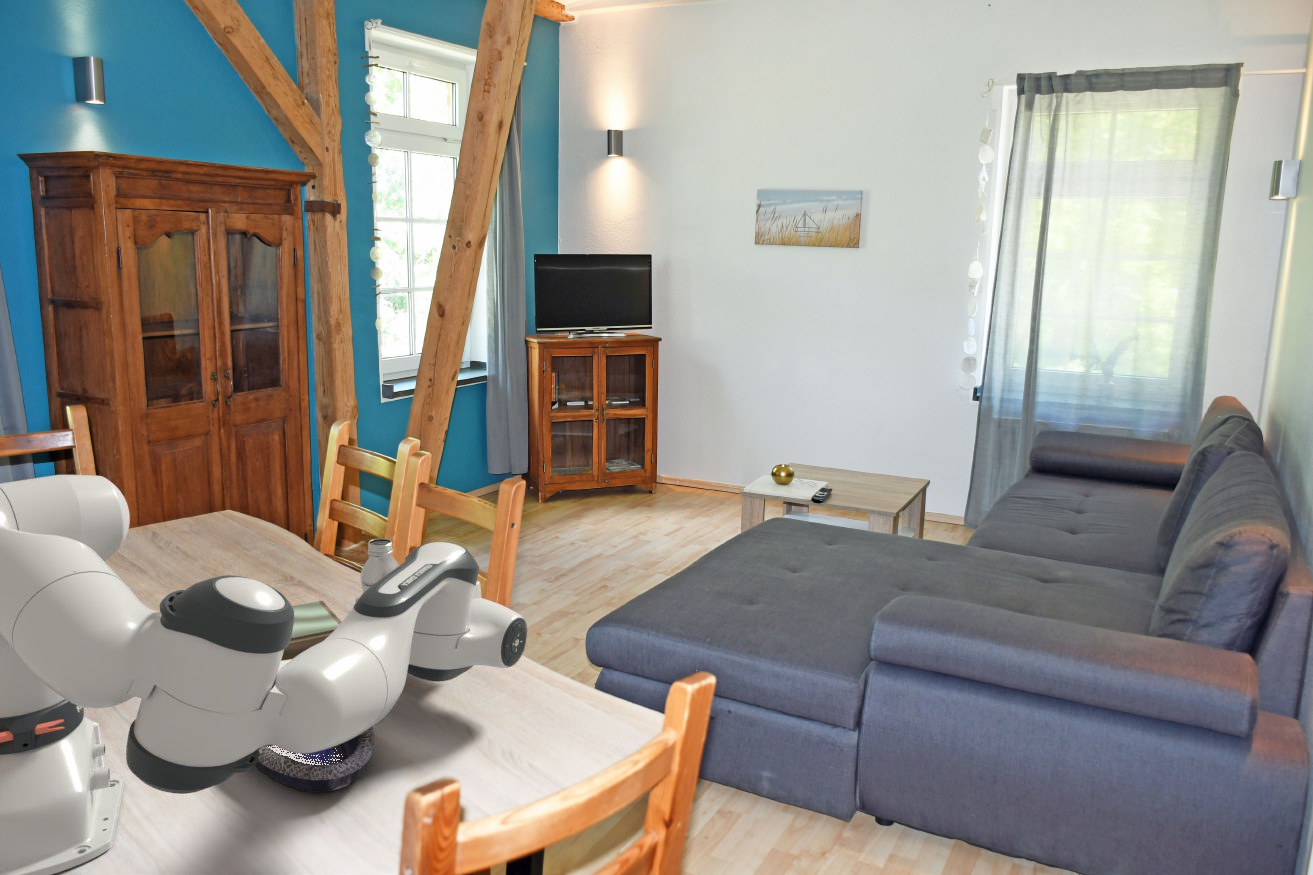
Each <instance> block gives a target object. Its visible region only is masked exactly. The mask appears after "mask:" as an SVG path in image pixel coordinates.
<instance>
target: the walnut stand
mask: <svg viewBox="0 0 1313 875" xmlns="http://www.w3.org/2000/svg"><path fill="white" fill-rule="evenodd" d="M291 606H292V607H293V609H294V624H293V630H292V635H291V639H290V643H289V645H288V646H287V647H286V648H285V649H284V652H283V656H282V659H281V661H284V660H289V659H293V658H295V657H296V656H297V655H299V654H300V653H302V652H304V651H305V650H307V649H309V648H310V647H312V646H314V645H316V644H318V643H321V642H322V641H324V640H325V639H326V638H327V637H328V636H329V635H330V634H331V633H332V632H333V631H334V630H335V629H336V628H337V627H338V626H339V625H340V624H341V622H342V621H341V620H340V618H338V616H337V615H336V613H334V611H333V610H331V608H330V607H329V606H328V605H327V604H326V603H325V602H324V601H323V600H317V601H313V602H307V603H302V604H296V605H291Z"/></svg>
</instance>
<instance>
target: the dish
mask: <svg viewBox="0 0 1313 875" xmlns="http://www.w3.org/2000/svg"><path fill="white" fill-rule="evenodd" d="M267 746H268V747H269V746H270V747H271V746H273V745H265V746H262V747H260V748H259V759H258V761H257V763H256V764H255V765H254V766H255V767H256V768H257V769H259V770H260V771H261V772H262V773H264V774H265V775H266V776H268V777H269V778H271V779H273V780H274V781H277V782H278V783H281V784H283V785H285V786H288V787H290V788H294V789H295V790H296V789H297V790H301V791H306V792H313V793H314V792H315V793H316V792H319V793H321V792H331V791H332V792H333V791H337V790H340V789H342V788H346V787H347V786H349V785H351V784H353V782H355V781H356V780H357V779H358V778H359V777H360V776H361V775H362V774H363V772H365V769H366V768H367V766H368V763H369V761H370V759H371V756H372V754H373V752H374V748H375V733H374V729H373V726H372V727H370V728H369V729H367V730H366V731H364V732H363V733H361V734H359V735H358V736H356V737H354V738H352V739H350V740H348V741H346V742H344V743H342V744H339V745H337V746H334V747H331V748H328V749H325V750H321V751H317V752H313V753H306V754H307V755H306V754H302V755H304V756H306V757H304V756H303V757H302V756H299V755H298V757H299V758H297V757H296V759H300V757H302V758H304V759H306V760H308V759H309V760H310V759H312V760H311V761H313V759H314V761H315V764H317V763H316V762H318V764H319V762H321V760H322V762H321V763H320V764H321V765H315V764H314V765H312V764H311V765H310V764H307V763H306V764H304V763H302V762H298V761H295V760H293V759H291V758H289V757H290V756H289V757H288V756H283V755H280V753H279V754H278V753H276V752H274V751H273V750H271V749H270V748H268V747H267ZM274 746H275V745H274ZM272 748H276V747H272ZM277 748H278V747H277ZM279 748H280V747H279ZM335 748H336V749H335ZM280 750H281V749H280ZM282 750H283V749H282ZM336 750H337V751H336ZM276 751H277V750H276ZM281 752H282V751H281ZM283 752H284V751H283ZM334 752H335V753H334ZM287 753H289V752H287ZM287 753H286V754H287ZM290 753H291V752H290ZM281 754H282V753H281ZM292 754H296V753H292ZM297 754H298V753H297ZM308 754H309V755H308ZM318 754H319V755H318ZM323 754H324V755H323ZM338 754H339V756H340V757H339V756H338V757H337V756H336V755H338ZM341 754H342V755H341ZM311 755H312V756H311ZM313 755H315V756H313ZM316 755H318V756H317V757H316ZM328 755H329V756H328ZM331 755H332V756H331ZM333 755H335V757H334V756H333ZM295 756H297V755H295ZM319 756H320V757H319ZM342 756H343V757H342ZM307 757H308V758H307ZM309 757H310V758H309ZM324 757H325V758H324ZM294 758H295V757H294ZM302 758H301V759H302ZM317 758H318V759H319V760H320V761H318V759H317ZM332 758H333V759H335V758H336V759H340V760H337V761H336V759H335V761H333V759H332ZM315 759H317V761H316V760H315ZM325 759H326V760H325ZM328 759H329V760H328ZM330 759H332V760H330ZM306 760H305V762H306ZM341 760H342V761H341ZM302 761H303V760H302ZM311 761H310V763H311ZM324 761H325V762H324ZM326 761H328V762H326ZM307 762H309V761H307ZM329 762H330V763H329ZM332 762H333V763H332ZM334 762H335V763H334ZM337 762H338V763H337ZM312 763H314V762H312ZM322 763H323V765H322ZM324 763H326V765H325V764H324ZM327 764H329V765H327Z"/></svg>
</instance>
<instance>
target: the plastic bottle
mask: <svg viewBox="0 0 1313 875" xmlns="http://www.w3.org/2000/svg"><path fill="white" fill-rule="evenodd" d="M367 548H368V550H367V555H368V556H369V557H368V559H367V560H366V562H365V563H364V564H363V566H362V568H361V572H360V574H359V575H360V576H359V577H360V582H361V588H362V594H363V593H364V592H365V591H366V590H367V589H368V588H370V587H371V586H372V585H374V584H375V583H376V582H378V581H379V580H380V579H382V578H383V577H385V576H386V575H387V574H389V573H390V572H391V571H393V570H394V569H396V568H397V567H398V566H400V564H399V563H398V562H397V560H396V559H395V558H394V556H392V554H393V553H394V549H393V542H392V540H391V539H390V538H389V539H388V538H374V539H371V540H369V541H368V542H367Z"/></svg>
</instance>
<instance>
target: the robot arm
mask: <svg viewBox="0 0 1313 875" xmlns="http://www.w3.org/2000/svg"><path fill="white" fill-rule="evenodd" d="M130 515H131V514H130V510H129V506H128V502H127V500H126V498H125V496H124V495H123V493H122V491H121V490H120V489H119V488H118V487H117V485H115V483H113V482H111V481H110V479H108V478H106V477H104V476H101V475H93V474H90V475H88V474H55V475H49V476H48V475H47V476H41V477H34V478H28V479H20V480H16V481H8V482H2V483H0V875H54V874H57V873H60V872H63V871H65V870H69V869H72V868H74V867H77V866H81V865H83V864H84V863H86V862H88V861H90V860H93V859H95V858H96V857H99V856H101V855H102V854H103V853H106V852H107V851H109V850H110V849H111V848H112V846H113V845H114V841H115V840H114V839H115V834H116V830H117V826H118V825H117V824H118V821H119V815H120V810H121V805H122V800H123V797H124V796H123V795H124V790H125V786H126V783H125V778H124V775H122V774H121V773H120V774H119V773H112V772H111V770H110V767H109V766H105V765H104V758H103V757H104V756H105V755H106V745H105V743H102V742H101V741H102V740H101V732H100V725H99V723H98V722H95V721H93V720H91V719H89V718H87V717H86V716H85V709H90V710H91V709H92V710H94V709H95V710H97V709H107V708H111V707H116V706H119V705H121V704H123V703H126V702H128V701H129V700H131V699H133V698H139V699H141V700H140V702H139V707H138V709H137V714H136V718H135V719H134V720H133V721H132V722H131V724H130V726H129V728H128V729H129V730H128V733H127V734H128V735H127V741H126V748H125V757H126V758H125V759H126V764H127V767H128V769H129V770H130V772H131V773H132V774H133V775H134V776H136V777H137V778H138V780H140V781H141V782H142V783H144V784H145V785H147V786H148V787H151V788H153V789H154V790H158V791H161V792H165V793H169V794H178V795H179V794H180V795H183V794H192V793H197V792H200V791H203V790H206V789H209V788H212V787H214V786H217V785H219V784H222V783H223V782H226V780H229V778H231V777H232V776H234V775H235V774H236V773H245V772H248V771H250V770H251V769H252V768H253V767H254V766H255V764H256V763H257V761H258V759H259V748H260V747H262V746H265V745H276V746H278V747H280V748H282V749H284V750H287V751H289V752H293V753H300V754H306V753H313V752H317V751H321V750H325V749H328V748H331V747H334V746H337V745H339V744H342V743H344V742H346V741H348V740H350V739H352V738H354V737H356V736H358V735H359V734H361V733H363V732H364V731H366V730H367V729H369V728H370V727H372V728H373V727H374V726H375V725H377V724H378V723H379V722H380V721H382V720H383V719H384V718H385V717H387V715H388V714H389V713H390V711H391V710H392V709H393V707H394V706H395V704H397V702H398V700H399V698H400V697H401V695H402V692H403V690H404V688H405V685H406V680H407V676H408V674H409V675H410V676H412V677H415V678H418V679H421V680H425V681H429V682H446V681H452V680H453V679H456V678H458V677H459V676H460V675H463V674H464V673H465V672H467V671H469V670H471V669H472V667H474V666H484V667H494V668H499V669H508V668H511V667H513V666H515V665H516V664H517V663H518V662H519V661H520V659H521V657H522V656H523V653H524V651H525V649H526V648H525V647H526V644H527V638H528V625H527V622H526V620H525V618H524V617H523V616H522V615H521V614H520V613H518V612H516V611H515V610H513V609H511V608H508V607H506V605H505V606H504V605H502V604H500V603H498V602H494V601H492V600H489V599H486V598H482V589H481V588H482V587H481V581H479V580H478V577H479V572H480V566H479V564H478V563H477V561H476V559H475V558H474V556H473V555H472V554H471V552H470V551H469V550H468V549H467V548H466V547H464V546H463V545H460V544H456V543H451V542H445V541H443V542H442V541H439V542H438V541H436V542H429V543H428V542H427V543H423V544H421V545H419V546H417V547H416V548H414V549H413V550H412V551H411V552H409V553H408V554H407V555H406V556H405V557H404V562H403V563H401V564H399V566H398V567H397V568H396V569H394V570H393V571H391V572H390V573H389V574H387V575H386V576H385V577H383V578H382V579H380V580H379V581H378V582H376V583H375V584H374V585H372V586H371V587H370V588H368V589H367V590H366V591H365V592H364V593H363V592H362V594H361V595H360V596H359V597H357V598H355V604H353V607H352V608H350V609H349V610H348V612H347V615H346V616H345V617H344V618H343V620H342V621H341V624H340V625H339V626H338V627H337V628H336V629H335V630H334V631H333V632H332V633H331V634H330V635H329V636H328V637H327V638H326V639H325V640H324V641H322V642H321V643H318V644H316V645H314V646H312V647H310V648H309V649H307V650H305V651H304V652H302V653H300V654H299V655H297V656H296V657H295V658H293V659H289V660H284V661H281V659H282V656H283V652H284V649H285V648H286V647H287V646H288V645H289V643H290V639H291V635H292V630H293V624H294V609H293V607H292V606H293V605H292V604H291V603H290V601H289V600H288V598H287V597H286V596H285V595H284V594H283V593H282V592H281V591H279V590H278V589H276V588H274V587H273V586H271V585H269V584H266V583H264V582H262V581H259V580H256V579H254V578H249V577H247V576H246V577H245V576H241V575H239V576H238V575H219V576H216V577H211V578H207V579H204V580H201V581H199V582H195V583H193V584H191V585H190V586H189V587H187V588H186V589H179V590H175V591H172V592H170V593H168V594H167V595H166V596H165V597H164V598H163V599H162V600H161V601H160V604H159V611H156V610H154V609H151V608H149V607H147V606H146V605H145V604H143V603H142V602H141V600H139V599H138V597H137V595H135V593H134V592H133V591H132V590H131V589H130V588H129V586H128V585H127V584H126V583H125V582H124V581H123V579H121V577H120V576H118V574H117V573H116V572H115V571H114V570H113V569H112V568H111V566H109V565H108V564H107V563H106V562H107V561H108V560H109V558H111V557H112V556H113V555H115V553H116V552H118V551H119V549H120V548H121V546H122V545H123V544H124V541H125V540H126V538H127V535H128V533H129V528H130V520H131V519H130V518H131V516H130Z"/></svg>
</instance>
